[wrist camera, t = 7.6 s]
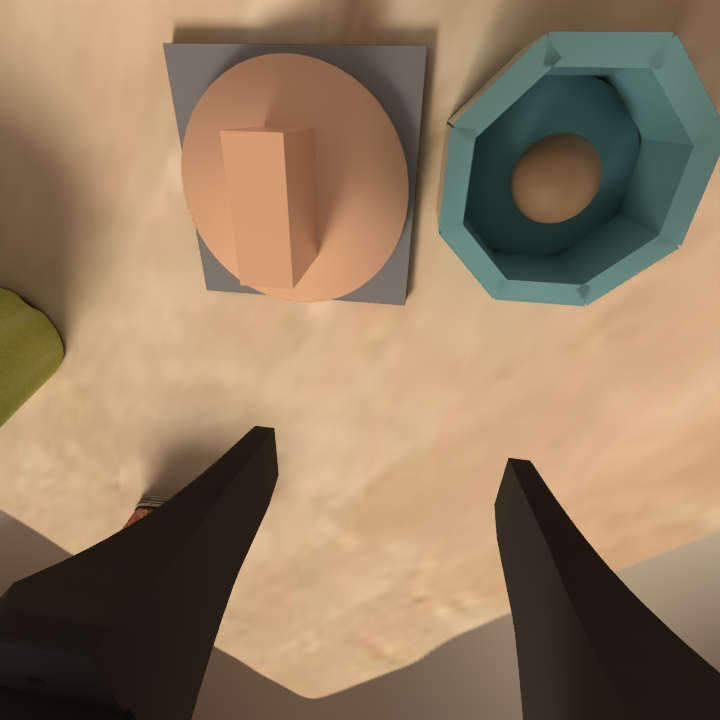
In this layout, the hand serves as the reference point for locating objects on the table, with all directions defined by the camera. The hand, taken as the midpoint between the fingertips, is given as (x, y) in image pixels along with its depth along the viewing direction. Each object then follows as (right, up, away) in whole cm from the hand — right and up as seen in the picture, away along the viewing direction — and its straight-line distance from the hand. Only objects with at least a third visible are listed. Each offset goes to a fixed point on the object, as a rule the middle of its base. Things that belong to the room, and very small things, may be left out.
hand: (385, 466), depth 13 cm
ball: (+6, +11, +3) cm, 13 cm away
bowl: (+7, +11, +4) cm, 13 cm away
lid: (-4, +11, +5) cm, 12 cm away
